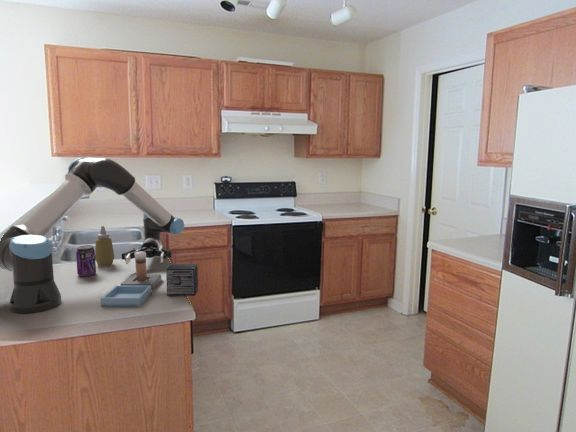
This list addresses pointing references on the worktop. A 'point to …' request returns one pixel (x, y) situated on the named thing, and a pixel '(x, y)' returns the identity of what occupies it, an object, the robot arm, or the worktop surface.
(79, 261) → the beverage can
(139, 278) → the brown and white cylinder
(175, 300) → the worktop surface
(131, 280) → the holder
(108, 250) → the squeeze bottle
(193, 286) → the small box
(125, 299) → the parts tray
